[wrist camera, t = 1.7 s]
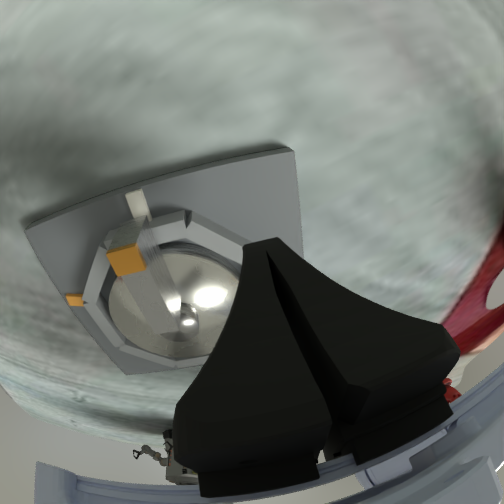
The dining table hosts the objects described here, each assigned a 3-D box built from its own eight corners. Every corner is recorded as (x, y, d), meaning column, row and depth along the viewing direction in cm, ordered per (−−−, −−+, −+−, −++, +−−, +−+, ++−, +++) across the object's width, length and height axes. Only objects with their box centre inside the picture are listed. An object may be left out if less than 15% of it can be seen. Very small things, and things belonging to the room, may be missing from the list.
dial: (255, 329, 20) (267, 375, 17) (146, 350, 20) (143, 395, 16) (221, 184, 14) (228, 222, 10) (72, 228, 13) (43, 272, 10)
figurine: (180, 406, 28) (190, 519, 16) (231, 427, 35) (247, 515, 23) (133, 418, 30) (134, 515, 18) (186, 439, 36) (195, 518, 24)
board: (303, 332, 23) (311, 351, 22) (127, 366, 23) (124, 385, 21) (288, 146, 14) (302, 156, 12) (30, 223, 13) (15, 241, 12)
